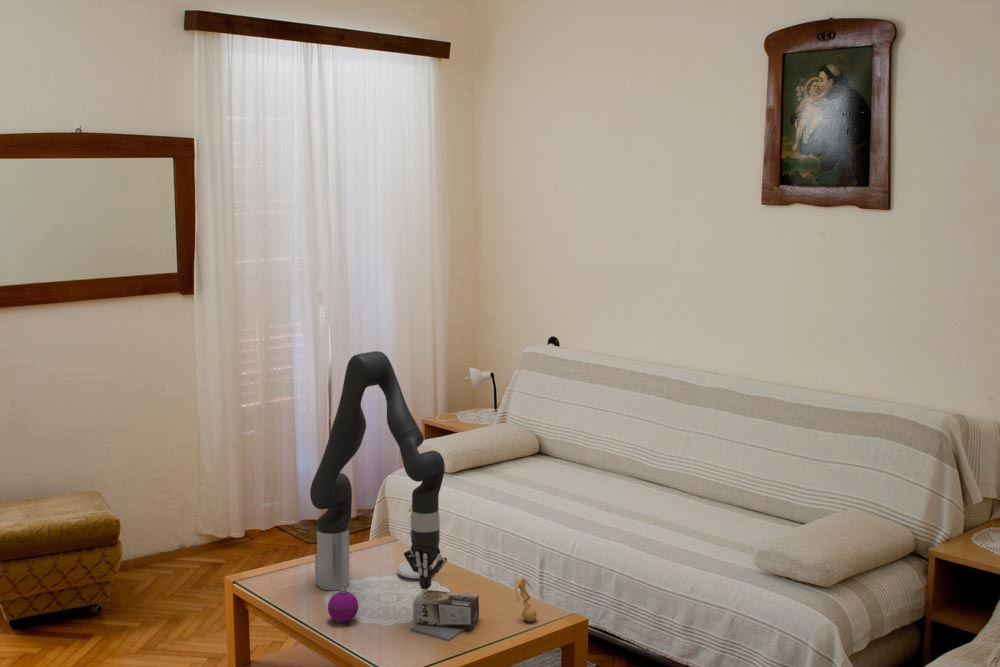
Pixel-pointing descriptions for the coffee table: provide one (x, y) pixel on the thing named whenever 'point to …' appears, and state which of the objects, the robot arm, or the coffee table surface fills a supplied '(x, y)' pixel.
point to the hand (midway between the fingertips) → (425, 588)
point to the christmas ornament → (343, 606)
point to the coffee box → (446, 609)
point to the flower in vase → (405, 567)
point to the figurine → (529, 611)
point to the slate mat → (437, 631)
